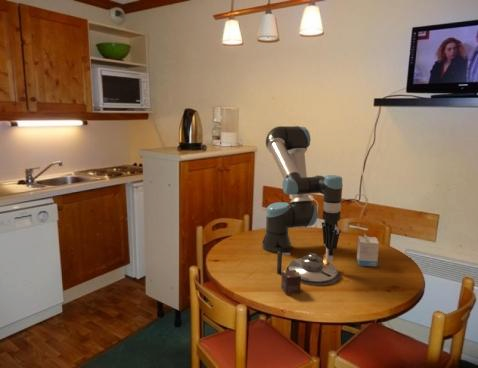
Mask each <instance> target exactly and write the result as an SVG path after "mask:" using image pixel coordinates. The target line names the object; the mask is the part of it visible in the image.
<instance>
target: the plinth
mask: <svg viewBox="0 0 478 368" xmlns="http://www.w3.org/2000/svg"><path fill="white" fill-rule="evenodd" d="M285 271H289V265H288V266H287V267H286V270H285ZM339 280H340V273H339V271H338V270H337V277H336V278H335V279H334V280H332V281H329V282H325V283H311V282H306V281H302V280H301V284H304V285H308V286H314V287H315V286H319V287H320V286H322V287H323V286H329V285H333V284H335V283H337V282H338V281H339Z"/></svg>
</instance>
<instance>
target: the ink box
mask: <svg viewBox="0 0 478 368" xmlns="http://www.w3.org/2000/svg"><path fill="white" fill-rule="evenodd" d="M363 234H364V236H360V235H358V237H357V249H356V260H357V264H358V266H363V267H376V268H377V267H378V263H379V262H378V259H379V249H380V242H379V240H378V238H377V237H376V236H368V235H366V233H363Z"/></svg>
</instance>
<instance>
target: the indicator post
mask: <svg viewBox="0 0 478 368" xmlns="http://www.w3.org/2000/svg"><path fill="white" fill-rule="evenodd" d="M276 256H277V257H276V259H277V260H276V261H277V263H276V274H277V275H282V271H283V270H282V266H283V263H282V262H283V256H291V253H290V252H282V251H278V252H277V255H276Z"/></svg>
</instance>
